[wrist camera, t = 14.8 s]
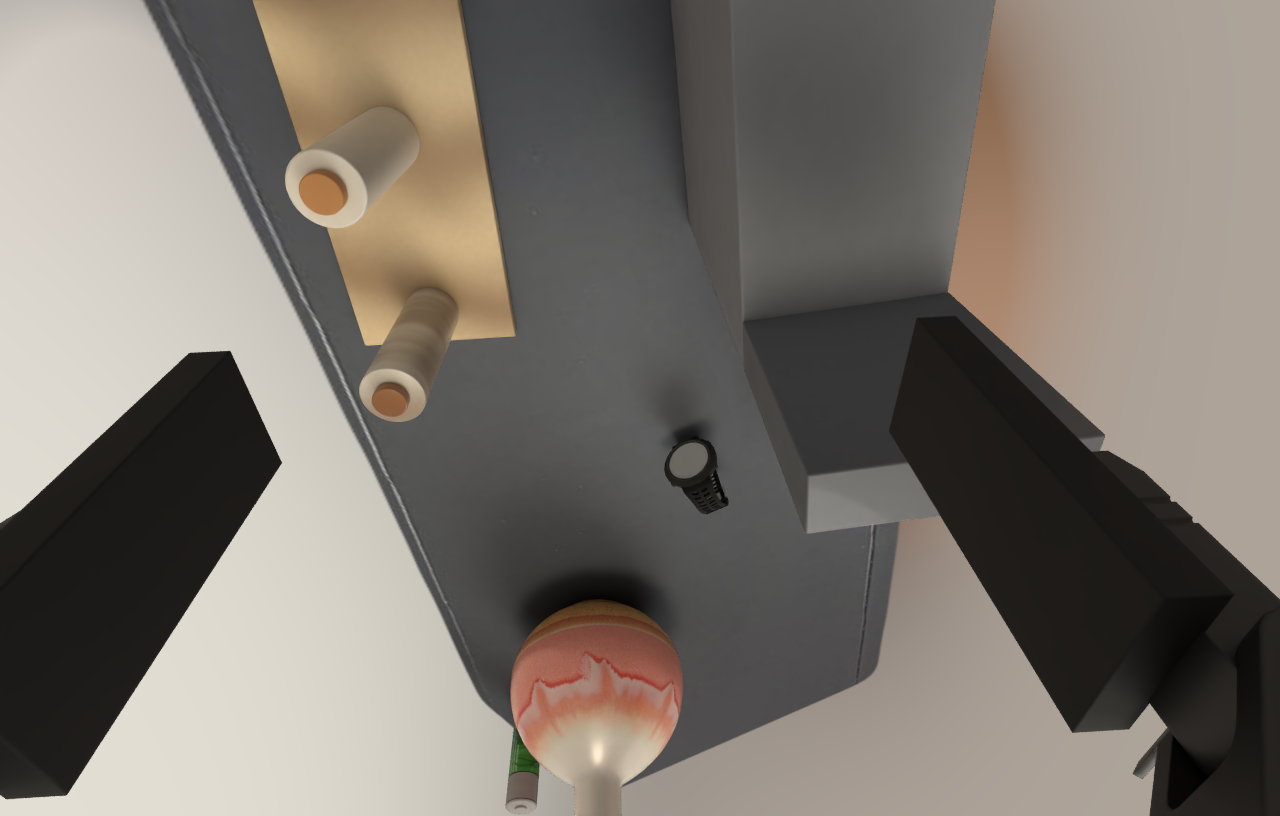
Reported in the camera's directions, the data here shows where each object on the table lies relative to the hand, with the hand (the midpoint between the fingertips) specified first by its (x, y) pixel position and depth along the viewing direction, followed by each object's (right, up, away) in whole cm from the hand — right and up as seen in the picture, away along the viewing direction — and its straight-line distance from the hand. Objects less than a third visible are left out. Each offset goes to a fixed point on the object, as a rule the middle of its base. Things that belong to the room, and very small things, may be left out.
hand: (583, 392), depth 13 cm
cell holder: (-11, +14, +19) cm, 26 cm away
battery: (-10, -29, +49) cm, 58 cm away
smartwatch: (+5, -3, +33) cm, 33 cm away
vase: (-3, -19, +43) cm, 47 cm away
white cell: (-11, +13, +19) cm, 26 cm away
